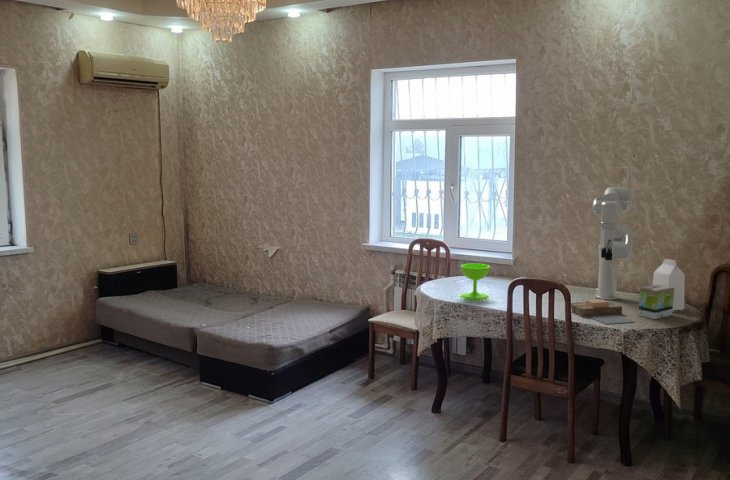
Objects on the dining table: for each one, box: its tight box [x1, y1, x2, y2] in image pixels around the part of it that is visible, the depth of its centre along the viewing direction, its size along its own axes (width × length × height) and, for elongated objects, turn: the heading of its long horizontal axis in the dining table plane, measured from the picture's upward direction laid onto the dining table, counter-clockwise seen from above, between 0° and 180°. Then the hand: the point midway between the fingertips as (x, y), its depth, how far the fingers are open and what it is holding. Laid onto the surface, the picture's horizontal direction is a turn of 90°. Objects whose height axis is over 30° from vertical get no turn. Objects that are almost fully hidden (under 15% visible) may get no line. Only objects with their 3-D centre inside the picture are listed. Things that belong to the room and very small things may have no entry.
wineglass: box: [460, 263, 491, 301], centre depth 376 cm, size 16×16×18 cm
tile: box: [585, 298, 610, 308], centre depth 340 cm, size 6×9×2 cm, turn 104°
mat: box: [589, 315, 636, 326], centre depth 328 cm, size 14×16×1 cm
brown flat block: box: [570, 301, 623, 318], centre depth 342 cm, size 14×22×4 cm, turn 104°
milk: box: [651, 258, 686, 312], centre depth 350 cm, size 12×12×26 cm
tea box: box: [637, 285, 674, 320], centre depth 335 cm, size 15×10×15 cm, turn 126°
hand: (606, 258), depth 346 cm, fingers open, 9 cm apart
